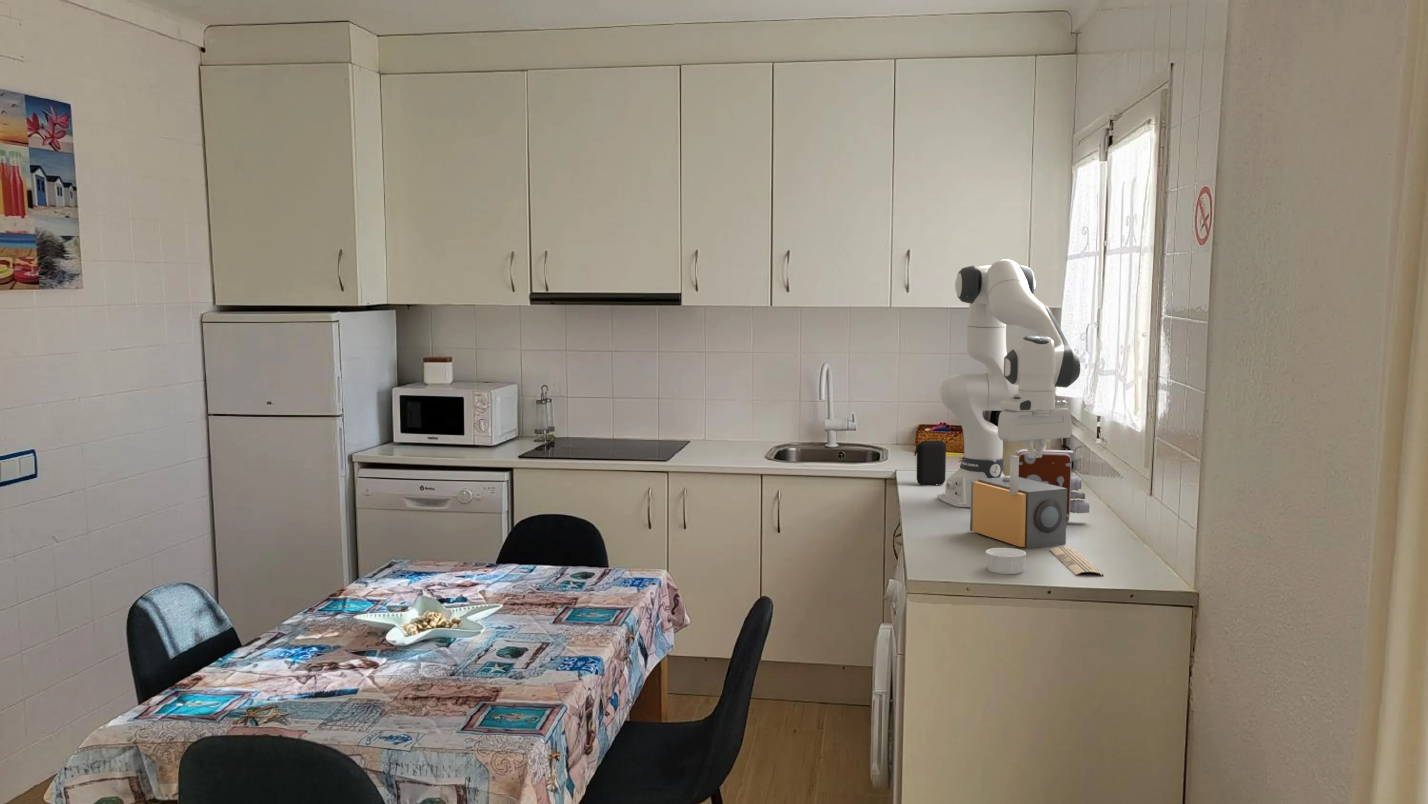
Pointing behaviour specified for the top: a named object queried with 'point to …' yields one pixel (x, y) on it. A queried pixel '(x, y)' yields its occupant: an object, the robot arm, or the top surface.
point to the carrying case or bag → (931, 462)
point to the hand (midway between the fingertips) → (1034, 457)
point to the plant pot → (1010, 453)
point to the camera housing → (1040, 510)
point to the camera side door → (999, 509)
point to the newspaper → (1074, 560)
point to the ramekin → (1005, 560)
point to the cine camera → (1054, 475)
